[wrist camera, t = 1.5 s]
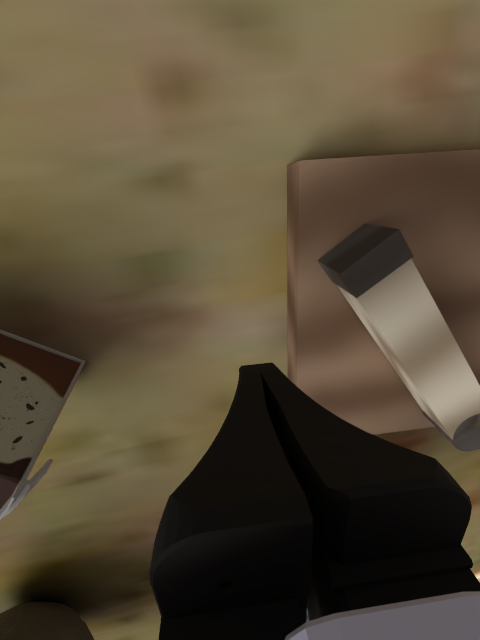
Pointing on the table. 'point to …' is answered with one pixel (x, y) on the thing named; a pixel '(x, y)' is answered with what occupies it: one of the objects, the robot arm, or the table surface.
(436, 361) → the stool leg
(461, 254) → the stool seat
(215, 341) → the table surface
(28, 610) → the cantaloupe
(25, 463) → the food container
